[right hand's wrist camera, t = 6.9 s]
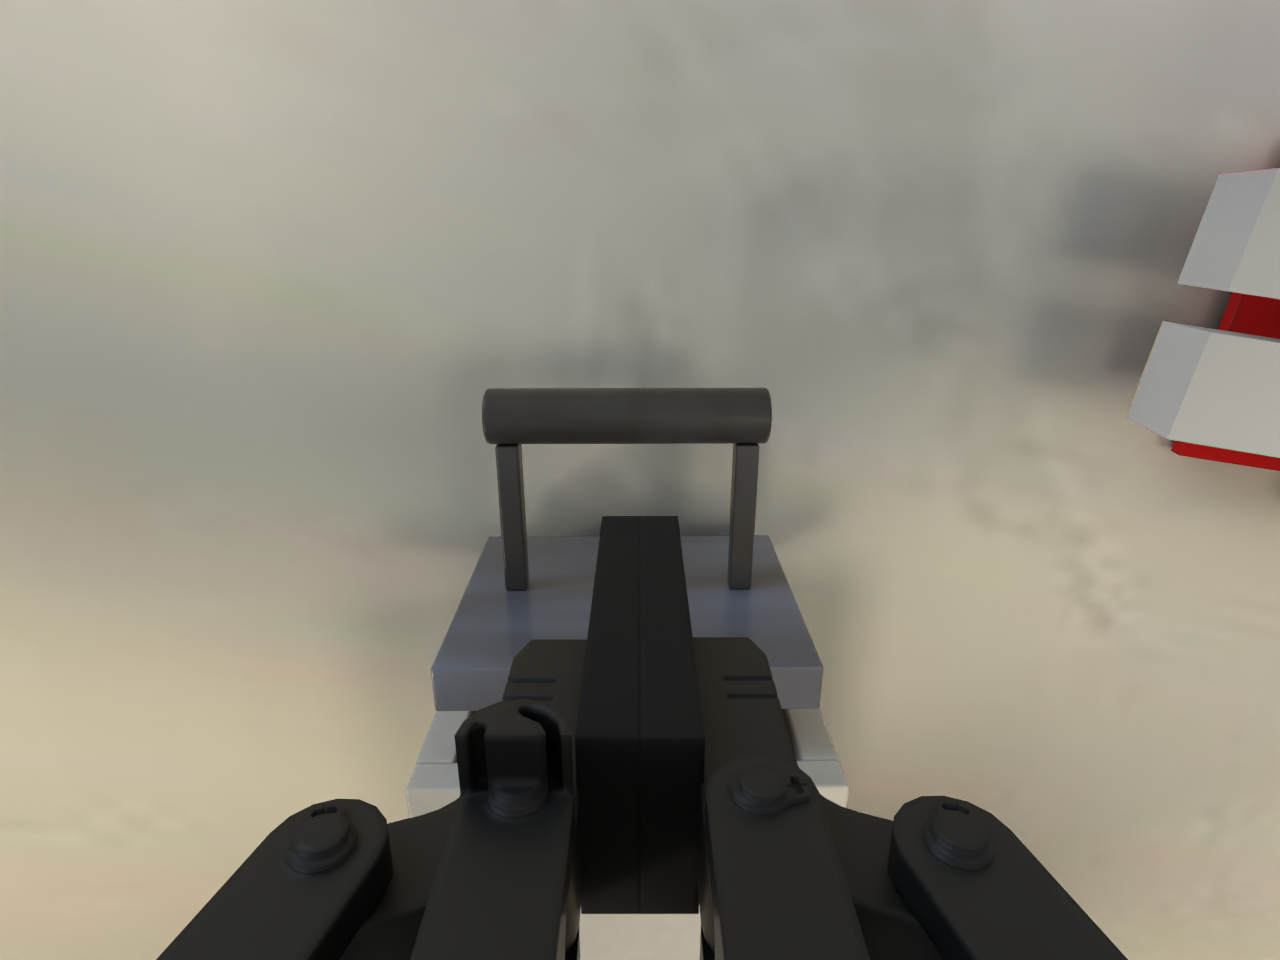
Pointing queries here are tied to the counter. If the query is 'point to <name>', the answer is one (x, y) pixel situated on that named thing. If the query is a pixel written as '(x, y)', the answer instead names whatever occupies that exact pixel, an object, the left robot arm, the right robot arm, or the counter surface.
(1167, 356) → the toy
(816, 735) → the cabinet
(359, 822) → the right robot arm
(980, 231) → the counter surface
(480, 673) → the drawer
